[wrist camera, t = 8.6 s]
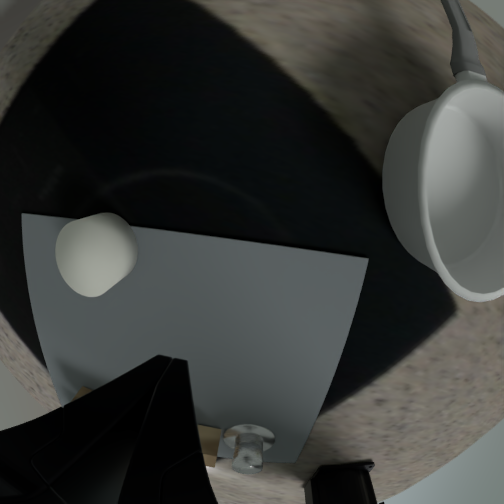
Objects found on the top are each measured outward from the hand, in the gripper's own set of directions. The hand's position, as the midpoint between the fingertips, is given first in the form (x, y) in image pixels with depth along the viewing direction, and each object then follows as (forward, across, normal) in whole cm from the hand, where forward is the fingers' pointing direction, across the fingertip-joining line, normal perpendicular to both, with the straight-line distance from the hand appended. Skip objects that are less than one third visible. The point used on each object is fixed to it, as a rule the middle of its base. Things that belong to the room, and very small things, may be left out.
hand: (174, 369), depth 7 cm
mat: (+10, +4, +9) cm, 14 cm away
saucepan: (+10, -12, -11) cm, 19 cm away
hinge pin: (+10, -4, +15) cm, 19 cm away
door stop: (+10, +8, 0) cm, 12 cm away
